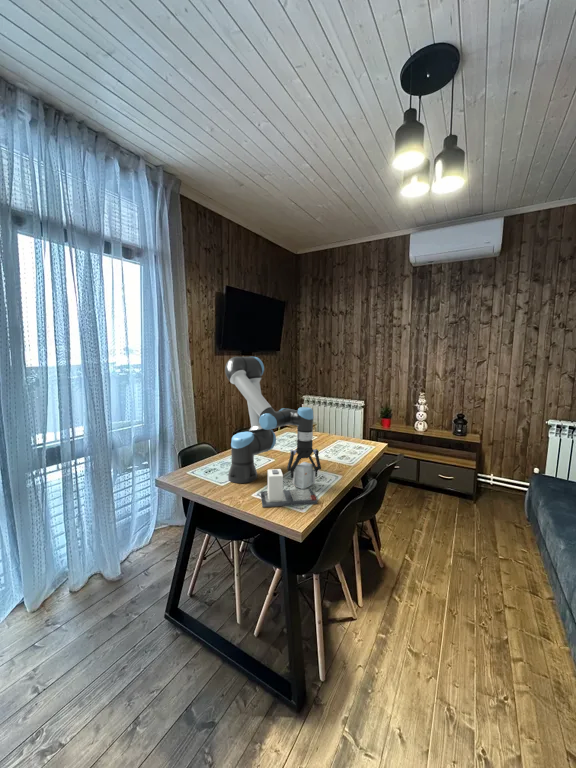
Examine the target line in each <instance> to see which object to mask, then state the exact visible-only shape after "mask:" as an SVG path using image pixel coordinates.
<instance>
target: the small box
mask: <svg viewBox="0 0 576 768" xmlns="http://www.w3.org/2000/svg"><path fill="white" fill-rule="evenodd" d="M313 469H314V467H313V465H312V463H311V462H307V461H303V462H301V463H298V464H297V466H296V468H295V485H294V487H296V488H297V489H298V488H299V489H308V488H309V487H311V486H312V485H314V484H313Z"/></svg>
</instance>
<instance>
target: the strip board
mask: <svg viewBox="0 0 576 768" xmlns="http://www.w3.org/2000/svg"><path fill="white" fill-rule="evenodd" d="M267 492H268V490H265V491H260V498H261V499H260V500H261V507H262V508H273V507H285V506H286V507H287V506H304V505H317V504H318V498H317V496H316V495H315V493H314V491H313V489H312V488H305V489H301V488H299V489H298V488H297V489H296V488H295V489H283V500H276V501H269V498H268V493H267Z"/></svg>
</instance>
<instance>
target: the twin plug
mask: <svg viewBox="0 0 576 768" xmlns="http://www.w3.org/2000/svg"><path fill="white" fill-rule="evenodd" d="M283 490H284V476H283V472H282V469H281V468H275V469H274V468H272V469H267V491H268V492H267V493H268V498H269V501H276V500H283Z"/></svg>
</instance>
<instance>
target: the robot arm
mask: <svg viewBox="0 0 576 768" xmlns="http://www.w3.org/2000/svg"><path fill="white" fill-rule="evenodd" d="M264 372H265V366H264V363H263V361H262V359H261V358H259V357H256V356H233V357H231V358H229V360H228V361H227V362H226V364H225V368H224V373H225V377H227V379H228V380H227V381H229V382H230V384H232V385H235V387H236V388H237V390H238V391H239V392H240V394H241V395H242V396H243V397H244V399H245V400H246V402H247V408H248V409H247V410H248V415H249V421H250V422H249V423H250V426H251V427H250V428H249V429H248V431H241V432H237V433H236V434H234V435H233V436H232V437H231V443H230V447H231V448H230V449H231V463H230V467H229V471H228V474H227V476H228V477H227V479H228V480H229V481H230V482H232V483H235V484H247V483H251V482H254V481H255V480H257V479H258V471H257V468H256V466H255V462H254V461H255V456H257V455H260V454H262V453H266V452H269V451H271V450H272V449H274V447H275V446H276V443H277V436H276V433H275V432H274V430H273V429H277V428H280V427H285V426H288V425H289V426H290V425H291V426H297V428H296V429H297V431H296V432H297V436H296V437H297V439H296V440H297V441H296V449H294V450H293V449H290V455H289V460H288V464H287V466H286V468H287V469H286V470H287V471H288V472H290V477H291V479H292V485H293V486H295V468H296V466H297V465H299V464H300V461H301V460H302V459H309V461H310V464H312V465H313V484H312V485H316V478H317V477H318V471H319V470H321V469H322V466H321V462H320V456H319V454H320V453H319V449H317V448H315V449H313V443H314V442H313V439H314V438H313V436H314V435H313V433H314V432H313V431H314V428H313V427H314V410H313V408H311V407H306V406H305V407H304V406H302V407H301V406H300V407H299V408H298V409H297V410H295V409H291V408H287V407H286V408H284V407H283V408H280V409H279V410H278V411H275V409H274V408H273V407H272V405H271V404H270V403H269V402H268V401H267V399H266V398H265V397H264V396H263V394H262V389H261V383H260V382H261V380H262V376H263V375H264ZM296 454H297V456H296V458H295V460H294V457H295V455H296ZM312 455H314V457H315V461H316V464H315V462H314V459H313V458H312ZM293 461H294V462H293Z"/></svg>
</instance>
